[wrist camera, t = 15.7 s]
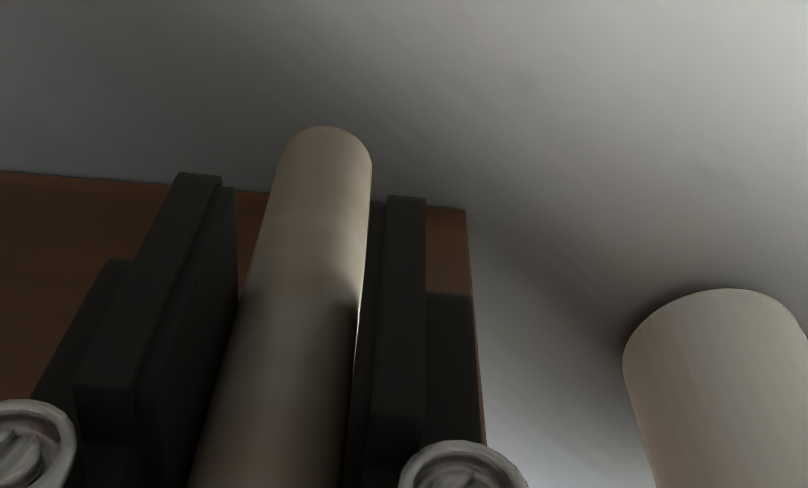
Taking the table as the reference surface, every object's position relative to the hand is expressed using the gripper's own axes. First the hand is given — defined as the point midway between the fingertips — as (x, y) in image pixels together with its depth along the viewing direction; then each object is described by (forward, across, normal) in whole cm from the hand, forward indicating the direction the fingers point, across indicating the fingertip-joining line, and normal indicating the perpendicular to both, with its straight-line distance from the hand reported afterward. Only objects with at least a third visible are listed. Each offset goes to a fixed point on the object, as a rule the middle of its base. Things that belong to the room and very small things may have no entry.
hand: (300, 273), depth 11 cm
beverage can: (+13, -14, +12) cm, 22 cm away
